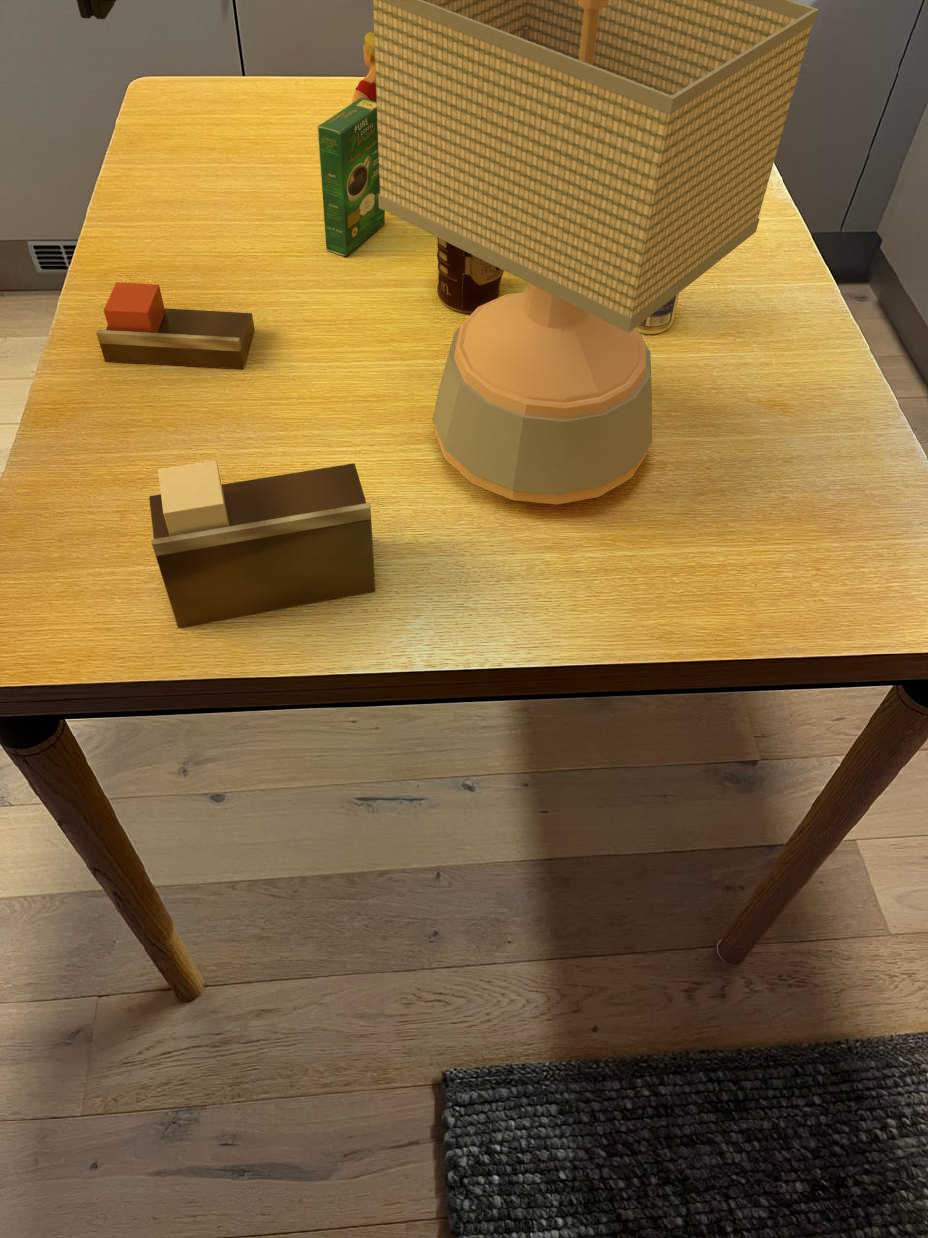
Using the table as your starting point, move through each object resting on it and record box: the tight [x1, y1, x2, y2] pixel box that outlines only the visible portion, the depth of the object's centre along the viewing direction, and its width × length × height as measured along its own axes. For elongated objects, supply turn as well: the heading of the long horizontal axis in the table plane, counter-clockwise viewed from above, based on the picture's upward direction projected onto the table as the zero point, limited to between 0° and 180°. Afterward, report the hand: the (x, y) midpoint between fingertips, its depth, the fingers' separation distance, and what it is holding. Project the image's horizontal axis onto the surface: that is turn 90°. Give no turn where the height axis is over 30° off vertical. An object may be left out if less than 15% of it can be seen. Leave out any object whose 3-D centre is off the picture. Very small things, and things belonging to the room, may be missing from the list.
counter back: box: [95, 307, 256, 370], centre depth 94 cm, size 13×6×3 cm, turn 87°
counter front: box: [148, 462, 376, 628], centre depth 74 cm, size 15×6×9 cm, turn 105°
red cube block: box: [103, 281, 166, 333], centre depth 93 cm, size 4×4×3 cm
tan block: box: [157, 459, 229, 536], centre depth 69 cm, size 4×4×3 cm
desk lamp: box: [372, 0, 819, 505], centre depth 74 cm, size 22×19×37 cm
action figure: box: [351, 31, 377, 104], centre depth 111 cm, size 10×4×15 cm, turn 140°
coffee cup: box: [436, 237, 505, 314], centre depth 97 cm, size 9×8×13 cm
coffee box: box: [317, 98, 386, 257], centre depth 103 cm, size 8×3×13 cm, turn 151°
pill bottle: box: [636, 293, 680, 335], centre depth 97 cm, size 5×5×9 cm
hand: (98, 10), depth 73 cm, fingers closed
